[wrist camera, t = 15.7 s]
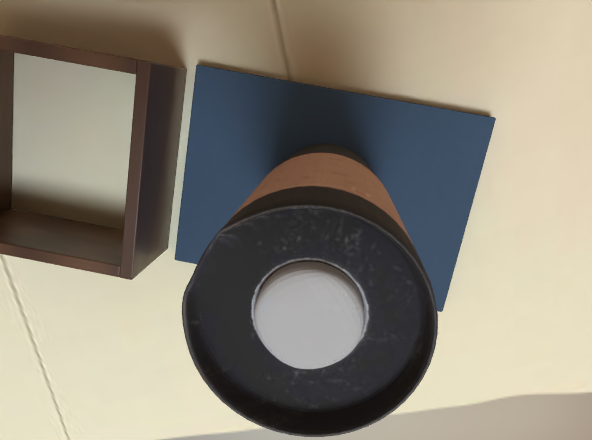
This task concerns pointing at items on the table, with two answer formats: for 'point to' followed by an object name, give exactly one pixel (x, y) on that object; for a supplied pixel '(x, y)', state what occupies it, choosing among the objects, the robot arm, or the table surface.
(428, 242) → the mat
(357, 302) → the travel mug
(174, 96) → the cube shelf
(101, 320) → the table surface
